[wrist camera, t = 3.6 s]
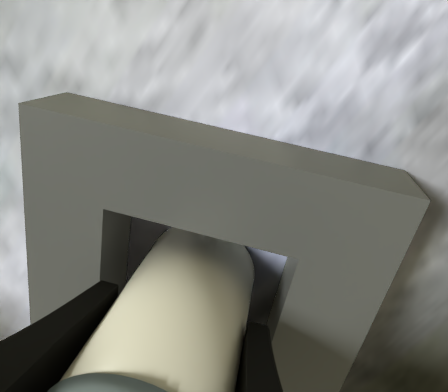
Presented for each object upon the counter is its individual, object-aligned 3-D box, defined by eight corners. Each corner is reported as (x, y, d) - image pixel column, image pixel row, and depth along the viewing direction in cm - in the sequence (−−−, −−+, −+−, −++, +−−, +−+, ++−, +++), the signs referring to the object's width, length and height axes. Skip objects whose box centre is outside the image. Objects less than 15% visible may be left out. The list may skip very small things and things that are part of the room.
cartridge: (143, 297, 16) (20, 507, 9) (154, 207, 14) (7, 380, 7) (243, 325, 16) (200, 569, 8) (268, 236, 14) (240, 452, 7)
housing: (66, 335, 18) (33, 378, 16) (66, 92, 13) (18, 103, 11) (304, 405, 17) (305, 462, 15) (404, 170, 12) (430, 200, 10)
